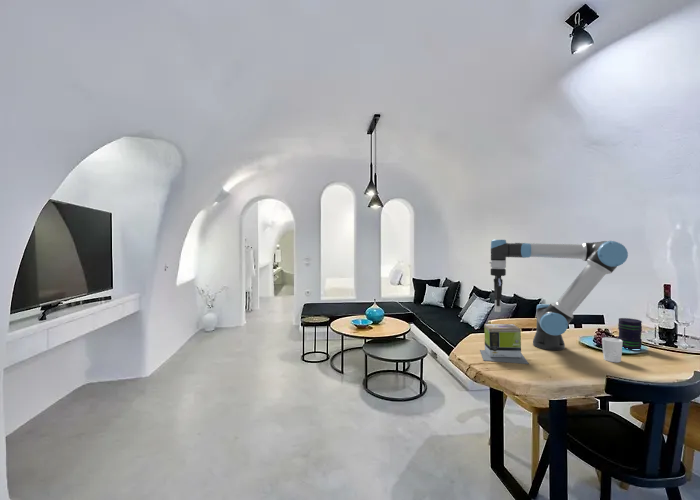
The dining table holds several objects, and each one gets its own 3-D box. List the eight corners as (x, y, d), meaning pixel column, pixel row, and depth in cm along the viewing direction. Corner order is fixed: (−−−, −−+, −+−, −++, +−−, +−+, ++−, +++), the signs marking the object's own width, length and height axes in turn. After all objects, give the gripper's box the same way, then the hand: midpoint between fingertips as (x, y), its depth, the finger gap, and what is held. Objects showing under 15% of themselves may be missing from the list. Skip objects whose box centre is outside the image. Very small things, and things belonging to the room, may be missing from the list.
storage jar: (638, 346, 187) (639, 319, 187) (644, 351, 178) (644, 323, 178) (616, 344, 192) (616, 317, 191) (620, 349, 183) (620, 321, 182)
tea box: (514, 351, 179) (514, 323, 178) (521, 358, 169) (521, 328, 168) (484, 351, 181) (484, 323, 180) (489, 357, 171) (489, 327, 170)
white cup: (617, 364, 161) (617, 342, 161) (598, 359, 168) (598, 338, 168) (625, 361, 165) (626, 340, 164) (607, 356, 172) (607, 336, 171)
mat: (521, 353, 178) (521, 352, 178) (528, 364, 162) (528, 363, 162) (479, 350, 183) (479, 349, 183) (483, 360, 167) (483, 360, 167)
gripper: (489, 267, 193) (488, 309, 193) (492, 269, 180) (491, 313, 181) (503, 267, 191) (503, 309, 191) (507, 269, 178) (507, 314, 179)
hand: (497, 311), depth 186 cm, fingers closed
